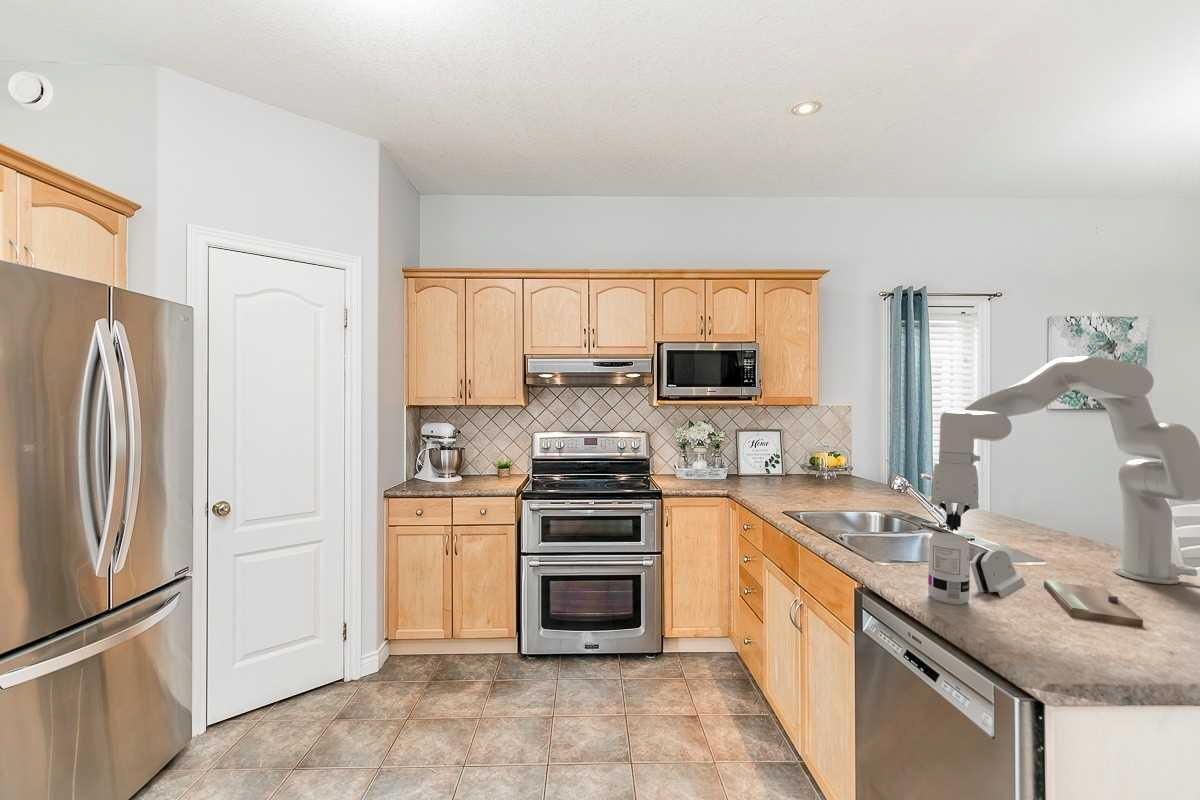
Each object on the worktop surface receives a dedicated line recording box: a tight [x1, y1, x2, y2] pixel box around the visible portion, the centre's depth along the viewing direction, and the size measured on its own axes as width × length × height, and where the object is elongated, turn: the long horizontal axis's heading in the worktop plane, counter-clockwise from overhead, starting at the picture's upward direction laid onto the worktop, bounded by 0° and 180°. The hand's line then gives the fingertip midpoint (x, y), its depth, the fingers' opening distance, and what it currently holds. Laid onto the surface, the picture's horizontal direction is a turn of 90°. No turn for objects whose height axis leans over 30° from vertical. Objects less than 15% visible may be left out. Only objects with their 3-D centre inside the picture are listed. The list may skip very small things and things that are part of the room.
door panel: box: [1043, 580, 1144, 628], centre depth 129 cm, size 12×21×3 cm, turn 154°
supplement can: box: [927, 532, 971, 606], centre depth 132 cm, size 8×8×15 cm
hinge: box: [970, 549, 1026, 599], centre depth 141 cm, size 17×5×10 cm, turn 127°
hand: (953, 529), depth 145 cm, fingers closed
